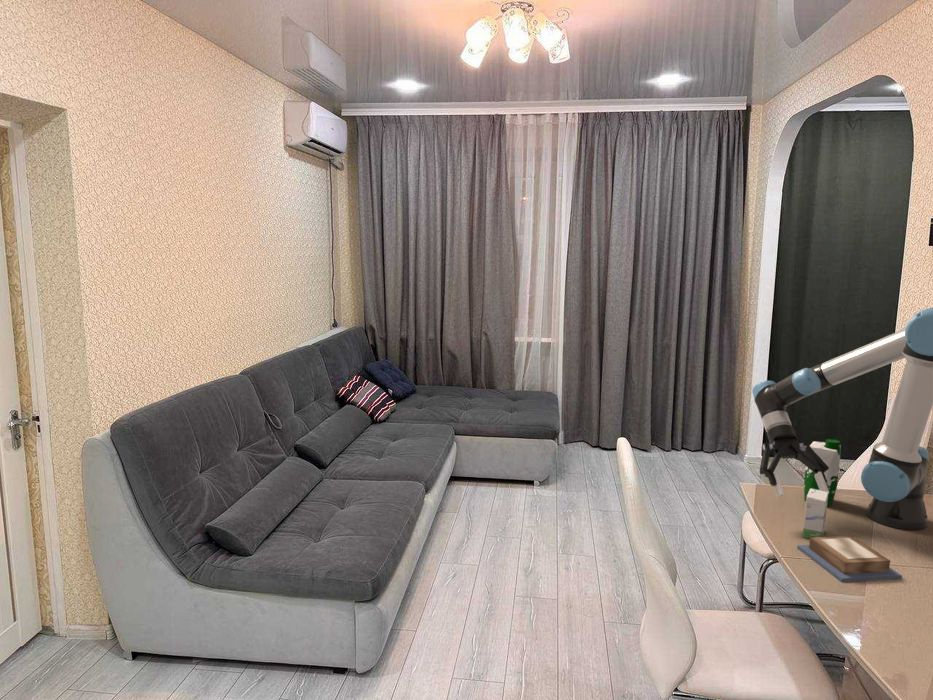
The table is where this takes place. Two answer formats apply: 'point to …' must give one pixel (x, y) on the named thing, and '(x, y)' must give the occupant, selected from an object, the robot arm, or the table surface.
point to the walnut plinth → (849, 555)
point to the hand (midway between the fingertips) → (803, 495)
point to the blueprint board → (847, 577)
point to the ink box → (815, 513)
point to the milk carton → (832, 459)
